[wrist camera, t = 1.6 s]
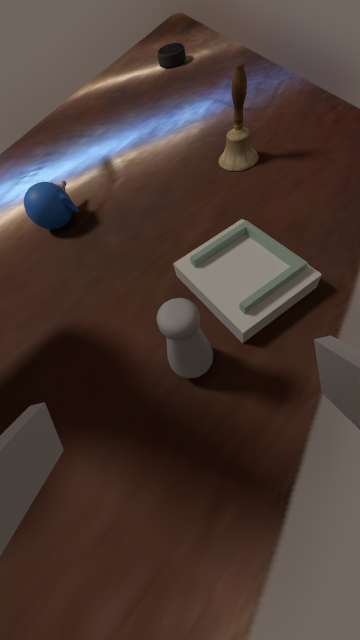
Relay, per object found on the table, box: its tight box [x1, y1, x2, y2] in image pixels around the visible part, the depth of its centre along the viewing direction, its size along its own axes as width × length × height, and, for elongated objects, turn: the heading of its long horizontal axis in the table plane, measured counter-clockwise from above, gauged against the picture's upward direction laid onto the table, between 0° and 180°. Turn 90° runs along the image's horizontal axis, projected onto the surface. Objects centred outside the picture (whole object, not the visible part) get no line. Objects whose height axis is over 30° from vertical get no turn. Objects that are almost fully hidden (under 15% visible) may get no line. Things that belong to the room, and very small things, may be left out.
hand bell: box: [219, 62, 258, 171], centre depth 53 cm, size 8×8×16 cm
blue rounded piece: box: [24, 181, 79, 229], centre depth 56 cm, size 12×12×8 cm
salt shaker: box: [157, 298, 213, 378], centre depth 32 cm, size 6×6×13 cm
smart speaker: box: [158, 43, 185, 68], centre depth 92 cm, size 9×9×4 cm
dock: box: [174, 219, 322, 343], centre depth 41 cm, size 16×14×4 cm
